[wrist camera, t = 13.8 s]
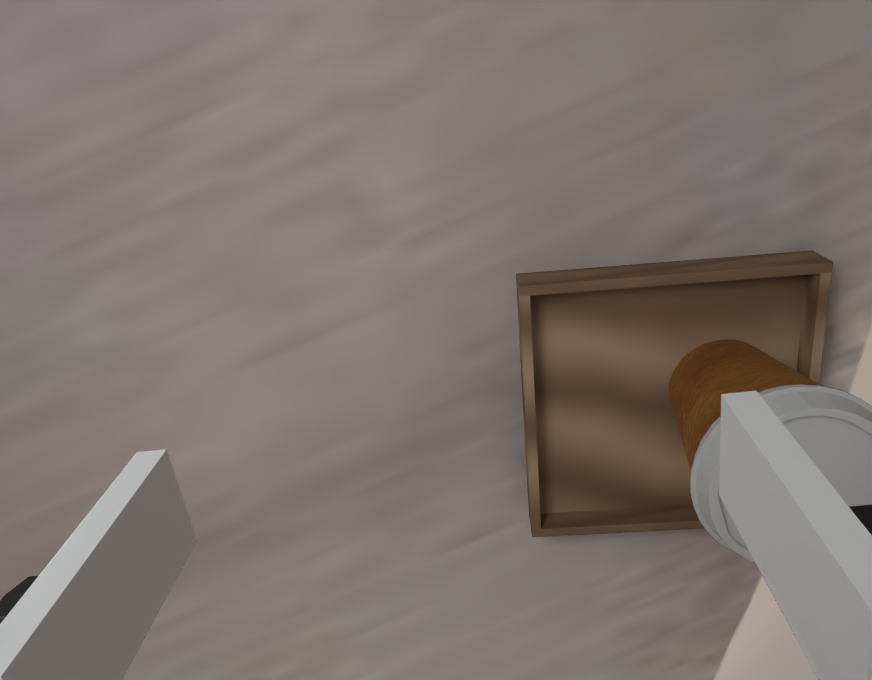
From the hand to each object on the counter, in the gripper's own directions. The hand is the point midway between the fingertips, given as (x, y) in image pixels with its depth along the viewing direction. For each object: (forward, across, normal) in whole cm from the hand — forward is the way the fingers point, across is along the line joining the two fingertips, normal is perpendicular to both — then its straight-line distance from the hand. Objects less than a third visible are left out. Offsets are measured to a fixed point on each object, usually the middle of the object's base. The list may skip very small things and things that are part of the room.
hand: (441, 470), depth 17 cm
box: (+26, +11, -13) cm, 31 cm away
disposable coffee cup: (+26, +15, -13) cm, 32 cm away
